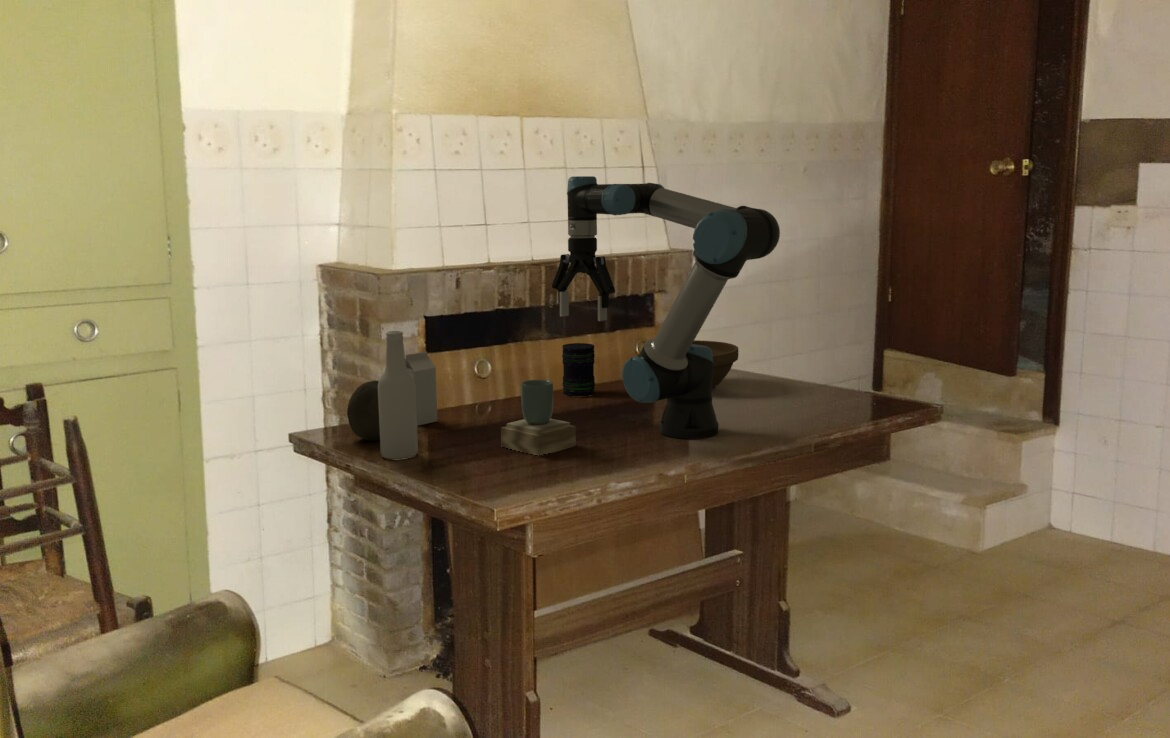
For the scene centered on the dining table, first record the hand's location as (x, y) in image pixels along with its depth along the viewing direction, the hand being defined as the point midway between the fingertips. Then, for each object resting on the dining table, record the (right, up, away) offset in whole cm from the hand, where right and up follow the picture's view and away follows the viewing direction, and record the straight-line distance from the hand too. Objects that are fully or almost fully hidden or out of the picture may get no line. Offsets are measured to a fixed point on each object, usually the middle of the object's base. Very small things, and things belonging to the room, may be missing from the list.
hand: (583, 318), depth 276 cm
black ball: (-52, -31, -9) cm, 62 cm away
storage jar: (-1, -21, +44) cm, 49 cm away
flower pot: (+34, -20, +51) cm, 64 cm away
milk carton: (-45, -28, +10) cm, 53 cm away
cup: (-11, -27, -18) cm, 34 cm away
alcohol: (-44, -34, -24) cm, 61 cm away
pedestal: (-11, -32, -17) cm, 38 cm away
